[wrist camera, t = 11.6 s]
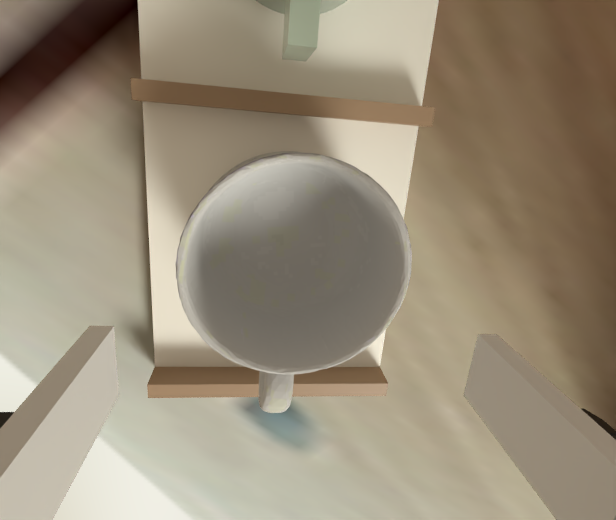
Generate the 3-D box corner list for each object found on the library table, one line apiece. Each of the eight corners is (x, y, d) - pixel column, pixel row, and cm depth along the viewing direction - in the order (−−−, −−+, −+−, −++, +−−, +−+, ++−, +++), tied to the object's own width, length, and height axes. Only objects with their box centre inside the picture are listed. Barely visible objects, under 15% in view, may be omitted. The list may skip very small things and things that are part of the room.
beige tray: (477, -291, 19) (515, -363, 16) (374, 370, 31) (386, 395, 28) (126, -379, 17) (99, -479, 14) (158, 370, 29) (148, 397, 26)
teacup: (228, 116, 23) (214, 113, 15) (396, 179, 25) (456, 204, 18) (167, 325, 26) (132, 405, 19) (319, 363, 29) (341, 448, 21)
